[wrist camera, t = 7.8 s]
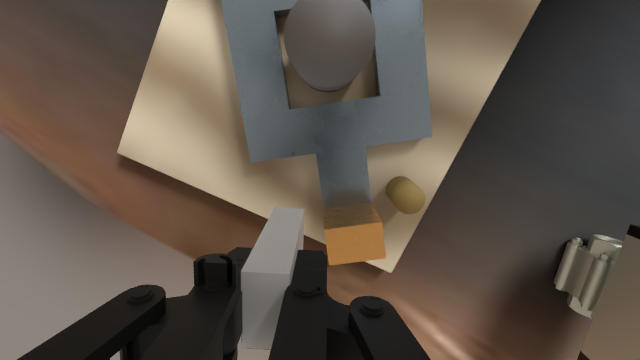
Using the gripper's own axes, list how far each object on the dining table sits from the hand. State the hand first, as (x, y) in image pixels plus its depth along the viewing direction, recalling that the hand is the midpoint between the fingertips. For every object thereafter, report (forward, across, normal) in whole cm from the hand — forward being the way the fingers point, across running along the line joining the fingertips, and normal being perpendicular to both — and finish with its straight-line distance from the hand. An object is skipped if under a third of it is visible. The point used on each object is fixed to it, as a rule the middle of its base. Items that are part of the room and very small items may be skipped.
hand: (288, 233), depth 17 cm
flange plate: (+6, +2, +6) cm, 9 cm away
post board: (+7, +1, +9) cm, 12 cm away
